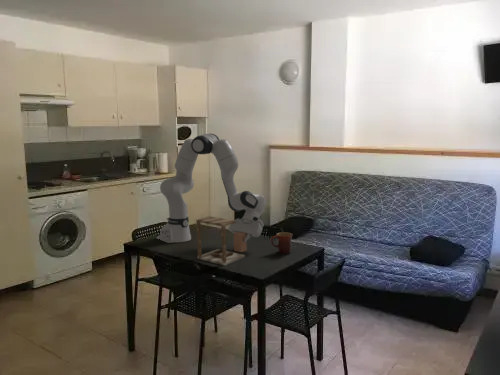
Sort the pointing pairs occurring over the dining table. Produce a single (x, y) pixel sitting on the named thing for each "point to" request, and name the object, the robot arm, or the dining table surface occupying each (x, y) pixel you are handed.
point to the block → (239, 242)
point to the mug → (283, 242)
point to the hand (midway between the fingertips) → (239, 240)
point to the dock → (222, 255)
